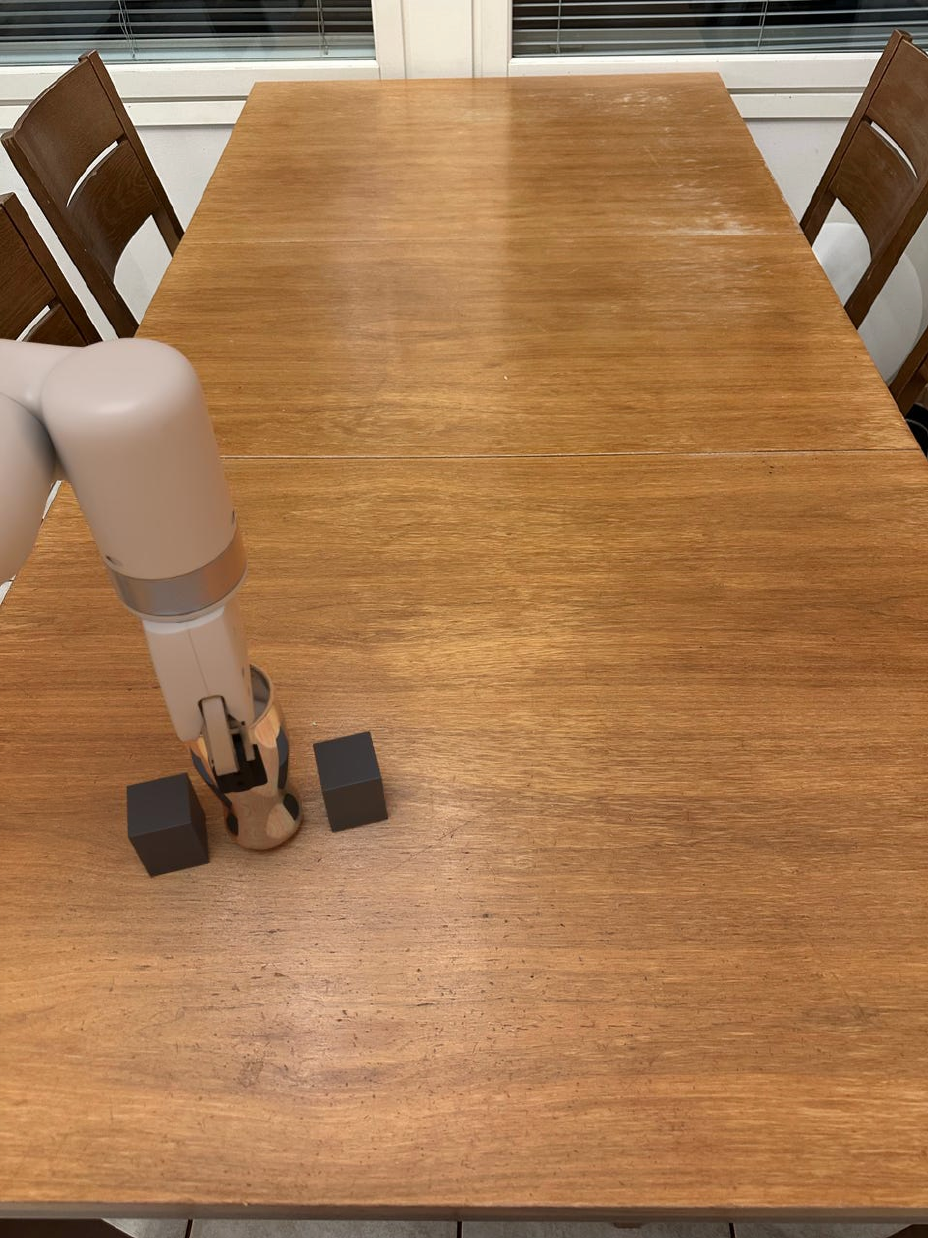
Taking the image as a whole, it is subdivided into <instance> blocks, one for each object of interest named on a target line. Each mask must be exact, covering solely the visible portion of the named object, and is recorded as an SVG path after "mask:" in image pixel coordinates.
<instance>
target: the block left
mask: <svg viewBox="0 0 928 1238" xmlns="http://www.w3.org/2000/svg"><path fill="white" fill-rule="evenodd" d="M125 790H126V820H127V821H126V822H127V823H126V824H127V825H126V826H127V839H128V840H129V842H130V844H131V846H132V848H133V849H134V851H135V852H136V854H137V856H138V858H139V860H140V862H141V863H142V865H143V867H144V869H145V870H146V872H147V874H148V876H149V877H150V878H152V877H156V876H161V875H164V874H165V875H166V874H169V873H173V872H176V871H181V870H185V869H188V868H193V867H197V866H198V867H199V866H201V865H205V864H209V863H210V853H209V844H208V831H207V821H206V813H205V811H204V808H203V806H202V804H201V801H200V798H199V797H198V794H197V792H196V790H195V787H194V785H193V782H192V780H191V778H190V775H189V773H188V772H182V773H178V774H173V775H170V776H164V777H160V778H157V779H151V780H147V781H146V780H145V781H142V782H138V783H134V784H129V785H126V789H125Z"/></svg>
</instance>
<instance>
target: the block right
mask: <svg viewBox="0 0 928 1238" xmlns="http://www.w3.org/2000/svg"><path fill="white" fill-rule="evenodd" d="M312 749H313V753H314V754H313V755H314V758H315V763H316V769H317V774H318V780H319V785H320V789H321V794H322V799H323V803H324V807H325V810H326V814H327V818H328V823H329V826H330V831H331V833H336V832H341V831H345V830H349V829H354V828H357V827H362V826H367V825H369V824H373V823H378V822H381V821H387V820H388V819H389V816H388V810H387V804H386V798H385V791H384V785H383V779H382V773H381V769H380V765H379V761H378V757H377V753H376V750H375V745H374V741H373V736H372V733H371V730H366V731H362V732H358V733H354V734H353V733H352V734H349V735H344V736H340V737H336V738H331V739H328V740H323V741H322V740H321V741H317V742H314V743H312Z"/></svg>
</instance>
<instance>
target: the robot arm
mask: <svg viewBox="0 0 928 1238" xmlns="http://www.w3.org/2000/svg"><path fill="white" fill-rule="evenodd" d="M215 434H216V433H215V431H214V426H213V423H212V419H211V415H210V412H209V408H208V403H207V399H206V396H205V392H204V389H203V386H202V383H201V380H200V377H199V375H198V372H197V371H196V369H195V367H194V365H193V364H192V363H191V361H190V360H189V359H188V358H187V357H186V356H185V355H184V354H183V353H182V352H181V351H179V350H177V348H175V347H173V346H171V345H169V344H167V343H164V342H161V341H157V340H154V339H148V338H144V337H143V338H141V337H122V338H113V339H108V340H107V339H106V340H102V341H98V342H95V343H92V344H89V345H87V346H83V347H82V346H70V345H69V346H67V345H59V344H57V345H56V344H47V343H40V342H31V341H23V340H15V339H7V338H0V587H1V586H2V585H4V584H6V583H7V582H9V581H10V580H12V579H13V578H14V577H15V576H16V575H17V574H18V573H19V572H20V571H21V570H22V568H23V567H24V566H25V565H26V563H27V561H28V560H29V558H30V556H31V554H32V553H33V550H34V547H35V546H36V542H37V540H38V536H39V532H40V530H41V525H42V521H43V518H44V515H45V511H46V507H47V503H48V499H49V495H50V492H51V487H52V485H53V484H54V483H55V482H57V481H61V480H62V481H65V482H67V483H68V484H70V487H71V489H72V491H73V494H74V497H75V498H76V501H77V504H78V506H79V508H80V511H81V513H82V515H83V518H84V519H85V522H86V524H87V527H88V529H89V531H90V534H91V536H92V538H93V541H94V543H95V545H96V548H97V551H98V552H99V555H100V557H101V560H102V563H103V565H104V567H105V570H106V572H107V574H108V578H109V579H110V582H111V584H112V586H113V590H114V592H115V593H116V597H117V598H118V600H119V603H120V604H121V606H122V607H123V608H124V609H125V610H126V611H128V612H129V613H130V614H131V615H134V616H135V617H137V618H139V619H141V624H142V628H143V633H144V637H145V641H146V645H147V649H148V653H149V656H150V659H151V663H152V666H153V669H154V673H155V676H156V679H157V681H158V684H159V688H160V690H161V693H162V696H163V699H164V702H165V705H166V708H167V711H168V714H169V717H170V720H171V722H172V726H173V728H174V731H175V734H176V736H177V738H178V739H180V741H182V742H183V743H184V742H190V741H196V740H198V738H199V736H200V732H202V735H203V739H204V743H205V747H206V751H207V754H208V755H207V756H208V762H209V765H210V767H211V770H212V773H213V775H214V778H215V780H216V783H217V785H218V788H219V791H220V792H221V793H223V794H227V793H232V792H235V793H239V792H244V791H248V790H250V789H252V788H253V787H257V786H262V785H265V784H266V783H267V782H268V779H267V773H266V770H265V767H264V764H263V761H262V758H261V754H260V751H259V748H258V745H257V744H252V740H251V736H250V732H249V727H250V726H251V725H252V723H253V722H254V720H255V714H254V704H253V693H252V683H251V674H250V665H249V662H250V659H249V651H248V644H247V638H246V632H245V625H244V621H243V617H242V616H243V615H242V612H241V607H240V604H239V599H238V595H237V594H238V593H239V592H240V591H241V589H242V588H243V586H244V585H245V582H246V580H247V577H248V574H249V560H248V556H247V552H246V549H245V545H244V541H243V536H242V534H241V530H240V525H239V521H238V517H237V514H236V511H235V507H234V502H233V500H232V495H231V491H230V488H229V484H228V481H227V477H226V472H225V469H224V465H223V461H222V457H221V454H220V450H219V446H218V442H217V439H216V435H215ZM226 708H228V711H229V714H227V711H226ZM234 728H238V729H239V733H240V737H241V741H242V742H239V743H234V744H233V740H232V735H231V731H230V729H234Z"/></svg>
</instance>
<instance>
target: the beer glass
mask: <svg viewBox="0 0 928 1238" xmlns="http://www.w3.org/2000/svg"><path fill="white" fill-rule="evenodd" d="M249 665H250V674H251V683H252V693H253V704H254V714H255V720H254V722H253V723H252V725H251V726H250V727H249V732H250V736H251V740H252V744H257V745H258V748H259V751H260V754H261V758H262V761H263V764H264V767H265V770H266V773H267V779H268V782H267V783H266V784H265V785H262V786H257V787H253V788H252V789H250V790H248V791H244V792H239V793H235V792H232V793H227V794H223V793H221V792H220V791H219V788H218V785H217V783H216V780H215V778H214V775H213V773H212V770H211V767H210V765H209V762H208V756H207V755H208V754H207V751H206V747H205V743H204V739H203V735H202V732H200V736H199V738H198V740H196V741H190V742H184V741H183V743H184V746H185V748H186V751H187V755H188V756H189V759H190V761H191V763H192V765H193V767H194V769H195V770H196V772H197V773H198V774H199V777H200V778H201V779H202V780H203V782H204V783H205V784H206V786H207V787H208V788H209V789H210V791H211V792H212V793H213V794H214V795H215V796H216V798H217V799H218V800H219V802H220V803H221V806H222V811H223V823H224V828H225V831H226V832H227V834H228V836H229V837H230V838H231V839H232V841H233V842H234V843H236V844H237V845H239V846H240V847H242V848H244V849H245V848H246V849H249V850H256V851H259V850H267V849H271V848H275V847H278V846H279V845H281V844H283V843H285V842H286V841H287V840H288V839H290V838H291V837H292V836H293V835H294V834H295V832H296V831H297V830H298V829H299V827H300V824H301V822H302V819H303V816H304V815H303V814H304V806H303V800H302V798H301V796H300V794H299V792H298V791H297V790H296V788H295V786H294V785H293V783H292V779H291V777H290V775H291V774H290V772H291V743H290V733H289V727H288V723H287V718H286V715H285V713H284V710H283V707H282V703H281V701H280V699H279V696H278V695H277V691H276V690H275V686H274V682H273V680H272V678H271V677H270V675H269V674H268V673H267V672H266V670H264V668H262V667H261V666H259V665H257V664H255V663H253V662H250V661H249ZM226 711H227V714H229V711H228V708H226ZM230 731H231V735H232V740H233V744H234V743H239V742H242V741H241V737H240V733H239V729H238V728H234V729H230Z"/></svg>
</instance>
